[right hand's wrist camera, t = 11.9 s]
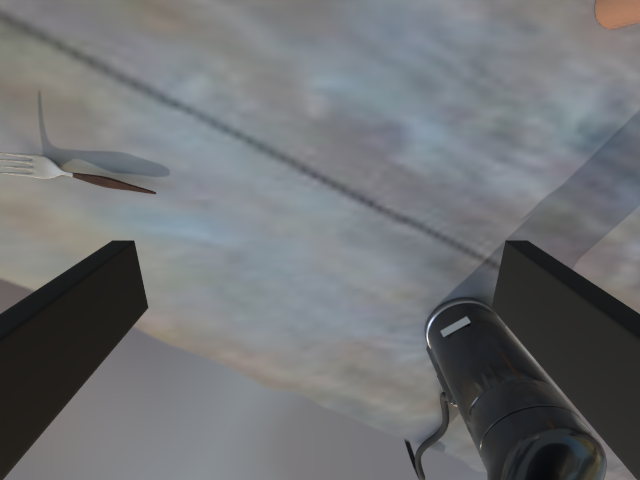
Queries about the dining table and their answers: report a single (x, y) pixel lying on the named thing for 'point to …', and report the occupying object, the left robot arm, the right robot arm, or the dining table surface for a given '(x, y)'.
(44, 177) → the fork
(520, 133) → the dining table surface
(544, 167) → the dining table surface
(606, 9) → the bottle
